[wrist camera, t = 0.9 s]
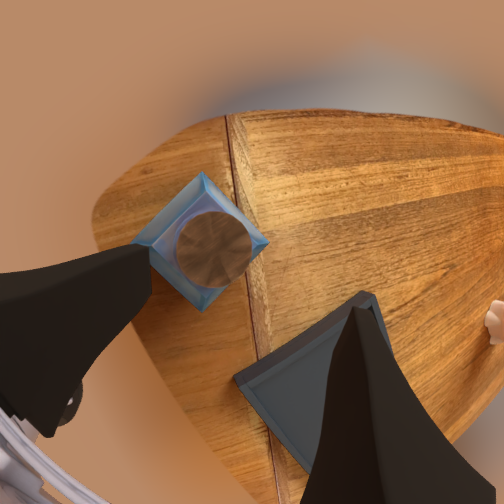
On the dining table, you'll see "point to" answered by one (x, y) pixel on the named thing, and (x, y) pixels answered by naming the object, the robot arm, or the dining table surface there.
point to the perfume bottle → (201, 242)
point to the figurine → (495, 322)
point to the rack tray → (301, 380)
